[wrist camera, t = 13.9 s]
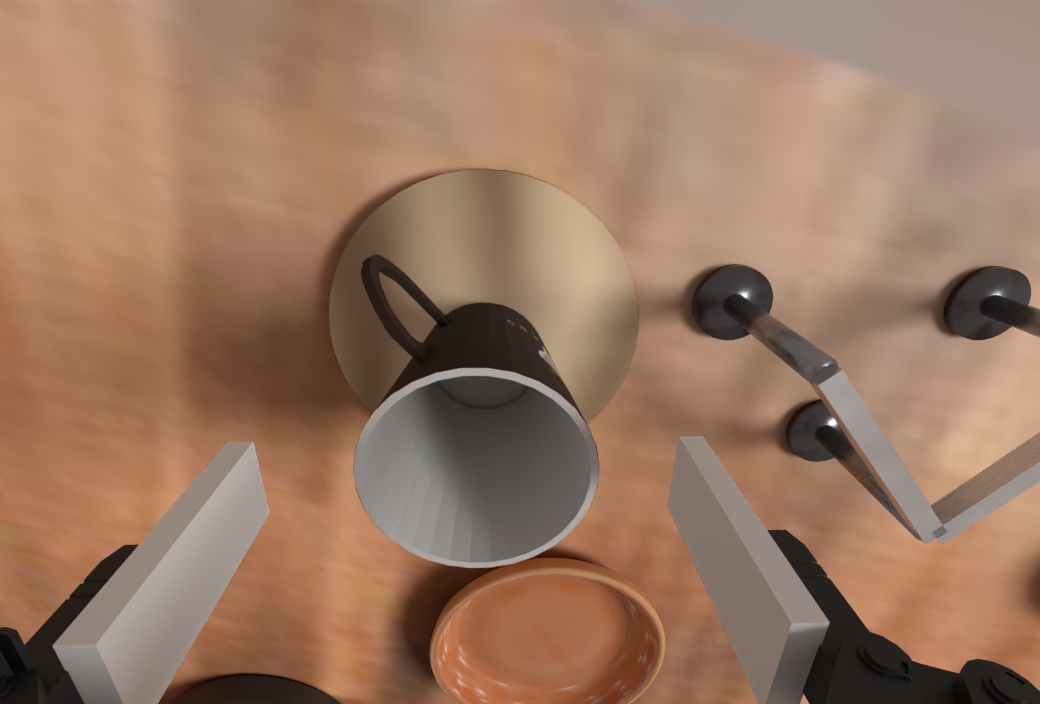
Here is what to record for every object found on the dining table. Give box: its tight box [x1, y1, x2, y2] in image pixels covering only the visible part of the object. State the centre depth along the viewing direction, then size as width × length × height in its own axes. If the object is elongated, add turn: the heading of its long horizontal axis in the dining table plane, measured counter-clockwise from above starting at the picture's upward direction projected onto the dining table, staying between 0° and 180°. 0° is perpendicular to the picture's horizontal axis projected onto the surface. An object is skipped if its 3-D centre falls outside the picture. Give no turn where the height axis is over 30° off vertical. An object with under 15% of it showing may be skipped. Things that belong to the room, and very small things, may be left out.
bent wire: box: [693, 264, 1040, 544], centre depth 25 cm, size 18×12×9 cm, turn 89°
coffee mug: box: [353, 255, 599, 568], centre depth 22 cm, size 12×9×10 cm
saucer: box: [430, 558, 665, 704], centre depth 36 cm, size 16×16×3 cm
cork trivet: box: [329, 169, 639, 424], centre depth 27 cm, size 16×16×1 cm
